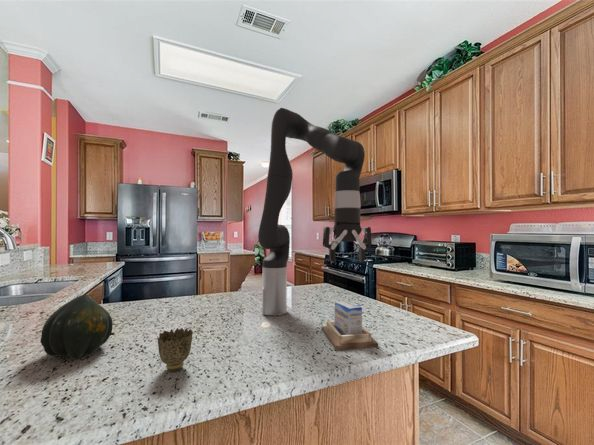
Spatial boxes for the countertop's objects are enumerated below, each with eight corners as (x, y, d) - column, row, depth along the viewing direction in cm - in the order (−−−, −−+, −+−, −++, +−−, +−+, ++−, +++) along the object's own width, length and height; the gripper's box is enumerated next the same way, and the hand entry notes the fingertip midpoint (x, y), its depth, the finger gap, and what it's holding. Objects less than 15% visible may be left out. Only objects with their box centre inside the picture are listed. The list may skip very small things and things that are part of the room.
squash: (38, 351, 61) (91, 290, 70) (16, 339, 69) (66, 286, 78) (94, 374, 69) (135, 317, 78) (69, 361, 77) (108, 311, 86)
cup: (164, 361, 68) (164, 327, 68) (196, 360, 69) (196, 327, 69) (151, 377, 61) (151, 340, 61) (186, 376, 61) (187, 339, 61)
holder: (335, 350, 74) (335, 338, 74) (321, 329, 89) (321, 320, 89) (378, 346, 76) (378, 335, 76) (357, 327, 91) (357, 318, 91)
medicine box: (334, 330, 86) (334, 301, 86) (346, 328, 87) (346, 300, 88) (349, 340, 78) (349, 308, 78) (362, 337, 80) (362, 306, 80)
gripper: (365, 208, 88) (365, 260, 88) (320, 207, 86) (320, 261, 86) (375, 206, 81) (375, 263, 81) (327, 205, 79) (327, 264, 78)
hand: (347, 262), depth 83 cm, fingers open, 8 cm apart
